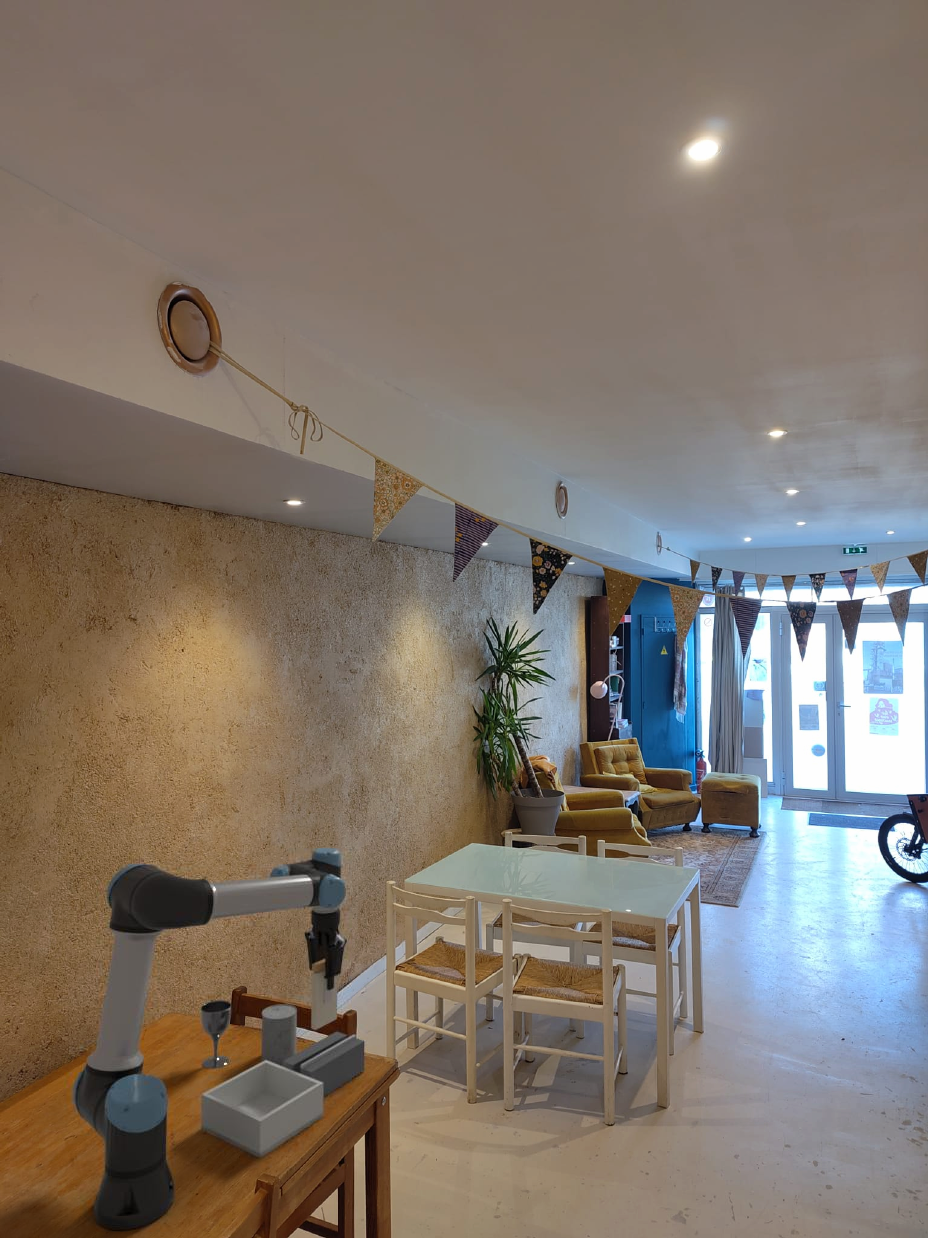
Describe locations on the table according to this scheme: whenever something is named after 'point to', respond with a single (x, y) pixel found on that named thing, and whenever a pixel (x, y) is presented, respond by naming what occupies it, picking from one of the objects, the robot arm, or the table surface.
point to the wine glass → (215, 1028)
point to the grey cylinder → (278, 1033)
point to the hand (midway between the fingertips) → (324, 1000)
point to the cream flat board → (320, 1010)
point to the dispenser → (330, 1061)
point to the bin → (262, 1107)
